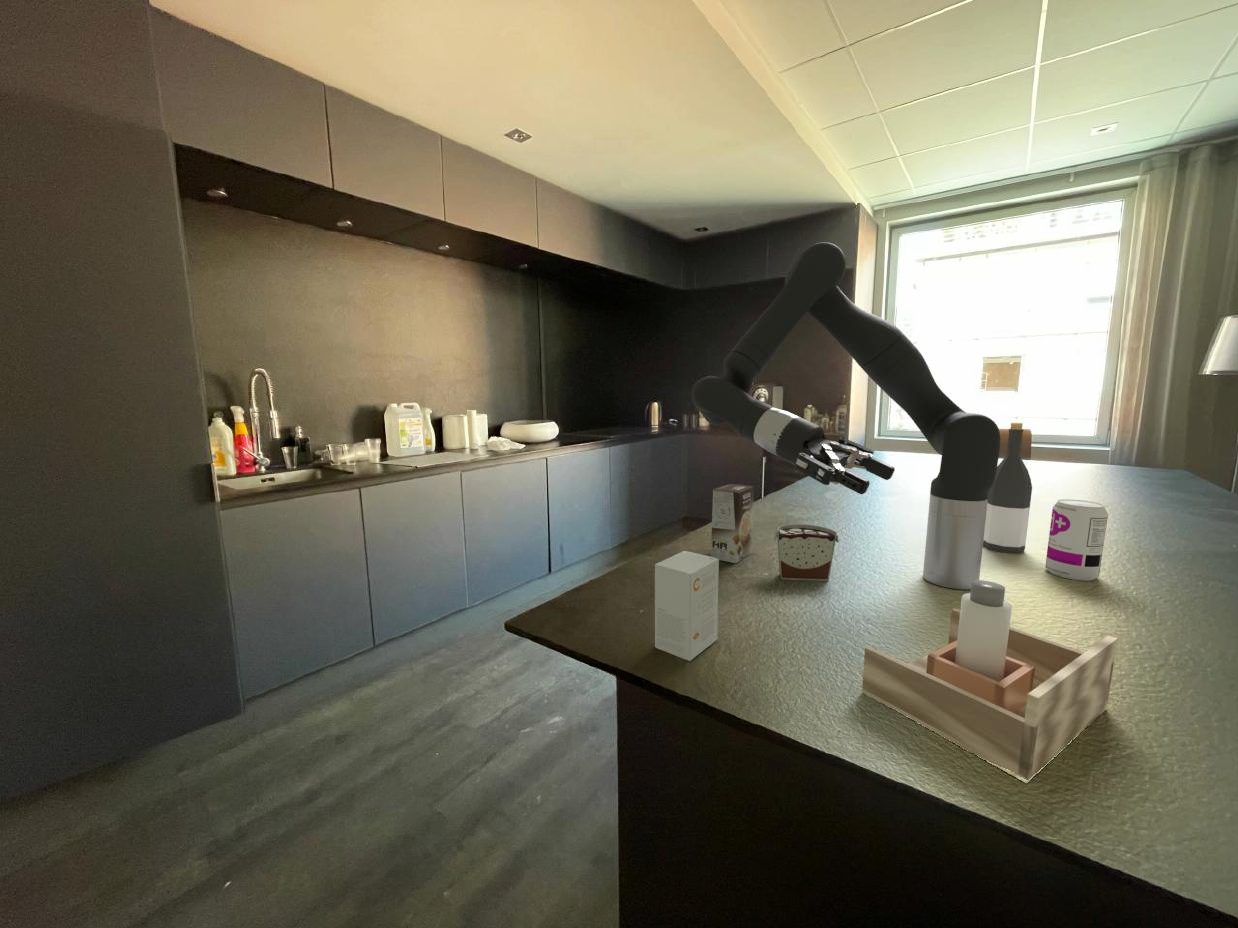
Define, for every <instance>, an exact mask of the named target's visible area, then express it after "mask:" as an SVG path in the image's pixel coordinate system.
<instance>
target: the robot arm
mask: <svg viewBox="0 0 1238 928" xmlns="http://www.w3.org/2000/svg"><path fill="white" fill-rule="evenodd" d="M846 269H847V262H846V256H845V254H844V251H842V249H841V248H840V247H839V246H837V245H836V244H834V243H831V242H826V241H823V242H817V243H814V244H812V245H810V246H808V247H807V248H806V249H804V250H803V251H802V252H801V253H800V254H799V255H798V257H797V258H796V259H795V260H794V261H793V263H792V264H791V265H790V267H789V268H788V270H787V272H786V274H785V278H784V286H783V288H782V289H781V291H780V292H779V293H778V295H777V296H776V297H775V298H774V300H773V301H772V302H771V303H770V304H769V306H768V307H767V308H766V309H765V310H764V312H763V313H762V314H761V315H760V316H759V317H758V318H757V319H756V321H755V322H754V323H753V324H752V325H751V326H750V327H749V329H748V330H747V331H746V332H745V333H744V334H743V336H742V337H741V338H740V340H738V342H737V343H736V344H735V346H734V347H733V348H732V349H731V350H730V352H729V353H728V355H727V356H726V357H725V359H724V361H723V363H722V366H723V377H719V376H717V375H716V376H715V375H708V376H704V377H702V378H700V379H699V380H697V381H696V382H695V383H694V385H693V386H692V389H691V399H692V402H693V404H694V406H695V407H696V409H697V410H698V411H699V412H700V414H701V415H702V417H703V418H704V419H705V421H706V422H707V423H709V424H710V425H713V426H722V425H725V424H728V425H729V426H730V427H731V428H732V430H733V431H734V432H735V433H737V434H738V435H740V436H742V437H743V438H746V439H747V440H749V441H751V442H752V443H755V444H757V445H758V446H760V447H761V448H763V449H764V450H765V451H767V452H769V453H770V454H773V455H775V456H776V457H778V458H780V459H782V460H784V461H786V462H788V463H790V464H791V465H794V469H796V470H797V471H799V472H800V473H803V474H805V475H806V476H808V477H810V478H811V479H813V480H815V481H816V482H818V483H821V484H822V485H824V486H829V485H830V483H832V484H835V485H839V484H840V485H841V486H843V487H845V488H848V489H849V490H851V491H853V492H856V493H857V494H859V495H864V494H865V493H867V491H868V488H869V487H870V485H871V483H870V481H869V480H868V479H866V478H864V477H862V476H860V475H859V474H856V473H854V472H852V471H851V469H853V468H858V469H861V470H865V471H866V472H869V473H871V474H873V475H875V476H877V477H878V478H881V479H883V480H885V481H888V480H890V479H892V477H893V475H894V474H895V470H896V469H895V467H894V466H892V465H890V464H887V463H886V462H883V461H881V460H880V459H878V458H875V457H874V454H875V450H873V449H872V448H869V447H867V446H864V445H862V444H860V443H857V442H855V441H852V440H849V439H847V438H845V437H843V436H840V437H839V438H838V440H837V441H835V440H834V441H833V440H828V439H826V434H825V429H824V428H823V427H822V426H820V425H818V424H816V423H815V422H812V421H809V420H807V419H805V418H803V417H801V416H798V415H796V414H794V413H791V412H790V411H787V410H784V409H781V408H777V407H775V406H772V405H770V404H768V403H765V402H764V401H762V400H758V399H757V398H754V397H753V396H751V395H750V394H749V393H750V392H751V389H752V387H753V384H754V382H755V380H756V379H757V378H758V377H759V375H761V373H762V371H764V369H765V368H766V367H767V365H769V362H770V361H771V360H772V359H773V357H774V356H775V354H777V352H778V351H779V349H780V348H781V346H782V345H783V344H784V343H785V341H786V339H788V337H789V336H790V334H791V333H792V331H793V330H794V329H795V327H796V326H797V325H798V324H799V323H800V321H801V320H802V319H803V318H804V317H805V315H806V314H807V313H808V315H809V316H811V317H812V318H813V319H814V320H815V321H816V322H818V323H819V324H820V325H821V326H822V327H823V328H825V329H826V331H827V332H829V334H830V335H831V336H832V337H833V338H834V339H835V341H836V342H837V343H839V345H840V346H841V347H842V349H844V350H845V351H846V352H847V354H849V355H850V356H851V358H852V359H853V360H854V361H855V363H856V364H858V366H859V367H860V368H861V369H862V370H863V371H864V373H866V375H867V376H868V377H869V378H870V379H871V380H872V381H873V382H874V383H875V384H876V385H877V386H878V387H879V388H880V389H881V390H882V391H883V392H884V393H886V394H885V395H887V396H888V397H889V398H890V399H891V400H892V401H894V402H895V403H896V404H897V405H898V406H899V407H900V408H901V409H903V411H904V412H905V413H906V414H907V415H908V416H909V418H910V419H911V420H912V421H913V423H914V424H915V425H916V427H917V429H919V431H920V432H921V433H922V435H923V436H924V438H925V439H926V440H927V442H928V443H929V446H931V447H932V449H933V450H934V451H935V452H936V453H937V454H939V455H941V459H940V460H941V461H940V466H939V467H940V468H939V472H938V475H937V476H936V477H935V478H933V479H932V480H931V481H930V482H931V483H930V492H929V494H930V495H929V502H928V513H927V514H928V516H927V525H926V526H927V528H926V536H925V537H926V538H925V547H924V548H925V549H924V558H923V559H924V560H923V568H922V569H923V570H922V577H923V579H924V580H926V581H927V582H929V583H932V584H934V585H937V586H939V587H944V588H949V589H954V590H963V591H964V590H965V591H966V590H967V591H968V590H971V583H972V581H974V580H980V577H981V576H980V575H981V569H982V568H981V567H982V559H983V549H984V546H983V541H984V531H985V522H986V512H987V502H988V494H989V490H990V489H991V487H992V485H993V484H994V481H995V477H996V471H997V466H998V465H999V457H1000V452H1001V451H1000V450H1001V433H1000V428H999V427H998V425H997V424H996V422H995V421H994V420H993V419H992V418H990V417H989V416H986V415H984V414H980V413H972V412H966V411H965V410H963V409H962V408H960V407H959V406H958V405H957V404H956V403H955V402H954V401H952V399H951V398H949V396H947V395H946V393H945V392H944V391H943V390H942V389H941V388H940V387H939V386H938V384H937V382H936V381H935V378H934V376H933V374H932V372H931V370H930V368H929V366H928V364H927V362H926V359H925V358H924V357H923V355H922V354H921V353H922V352H920V350H919V349H918V348H917V347H916V345H914V343H913V342H912V341H911V340H910V339H909V337H907V336H906V335H905V333H903V332H902V331H901V330H900V329H899V328H898V327H897V326H896V325H894V324H893V323H891V322H890V321H888V320H886V319H884V318H882V317H880V316H877V315H876V314H873V313H871V312H869V311H867V310H865V309H863V308H861V307H859V306H858V305H856V304H855V303H853V301H852V300H850V298H848V297H847V295H845V293H843V291H842V290H841V288H840V287H839V286H838V285H839V284H840V283H841V281H842V279H843V278H844V275H845V272H846ZM845 469H846V470H845ZM848 469H849V470H848ZM819 473H820V474H819Z"/></svg>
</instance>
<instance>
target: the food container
mask: <svg viewBox="0 0 1238 928" xmlns="http://www.w3.org/2000/svg"><path fill="white" fill-rule="evenodd" d="M837 533H838V531H835V530H833V529H831V528H828V527H826V526H825V527H824V526H821V525H820V526H819V525H814V524H805V523H804V524H801V523H800V524H798V523H791V524H784V525H781V526H779V527H777V530H776V531H775V534H774V538H773V540H774V542H776V541H777V549H778V550H777V552H778V566H779V579H780V580H792V581H793V580H794V581H795V580H796V581H823V582H824V581H827V582H828V581H830V576H831V575H830V574H831V569H832V563H833V557H834V553H835V546H836V542H837V543H838V544H839V542H840V541H839V540H840V539H839V536H838V534H837Z"/></svg>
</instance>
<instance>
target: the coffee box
mask: <svg viewBox="0 0 1238 928" xmlns="http://www.w3.org/2000/svg"><path fill="white" fill-rule="evenodd" d="M754 491H755V486H752V485H744V484H734V483H728V484H726V485H725V484H724V485H722V486H719V487H716V488H713V489H712V506H711V507H712V508H711V510H712V511H711V514H712V515H711V538H710V539H711V542H710V557H714V558H717V559H719V561H722V562H723V561H724V562H728V563H731V564H737V563H739V562H740V561H742V560H743V559H745V558H746V557H748V556H750V555H751V554H752V547H753V546H752V542H753V520H754V498H755V497H754V495H755V493H754Z"/></svg>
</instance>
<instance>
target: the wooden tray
mask: <svg viewBox="0 0 1238 928" xmlns="http://www.w3.org/2000/svg"><path fill="white" fill-rule="evenodd" d="M959 619H960V609H958V608H955V607H954V608H952V609H951V611H950V620H949V621H950V623H949V631H948V641H947V644H946V645H944V646H942V647H940V648H938V649H936V650H933V651H932V652H930V653H928V654H927V655H924V656H923V657H920V658H919V659H917V660H915V661H912V662H911V663H906V662H904V661H902V660H899V659H897V658H895V657H893V656H891V655H889V654H887V653H885V652H883V651H881V650H878V649H876V648H873V647H872V646H870V645H869V646H867V647H865V648H864V658H863V673H862V683H861V684H862V687H861V693H862V694H863V693H864V694H863V695H865V694H866V696H867V697H869V698H871V699H872V698H873V699H872V700H874V699H875V700H874V701H876V700H877V701H876V702H878V701H879V702H878V703H880V702H881V703H883V704H885V705H887V706H888V707H887V706H886V707H887V708H889V707H890V708H893V709H895V710H897V711H899V712H900V713H902V714H903V715H905V716H908V717H909V718H911V719H913V720H914V721H916V722H918V723H920V724H921V725H923V726H925V727H926V728H928V729H929V730H928V729H927V730H928V731H930V730H931V731H930V732H932V731H934V732H935V733H937V734H939V735H940V736H939V735H938V736H939V737H941V736H942V737H941V738H943V737H945V738H946V739H948V740H950V741H951V742H950V741H949V742H950V743H952V742H954V743H955V744H956V745H955V744H954V745H955V746H957V745H958V746H957V747H959V746H960V747H959V748H961V747H962V748H964V749H965V751H966V750H968V751H969V752H968V751H967V752H968V753H970V752H971V753H974V754H975V755H978V756H979V757H981V758H983V759H985V760H988V761H989V762H991V763H993V764H996V765H998V766H1000V767H1003V768H1005V769H1008V770H1010V771H1011V772H1014V773H1015V774H1017V775H1019V776H1020V777H1023V778H1024V779H1026V780H1029V779H1030V778H1031V777H1032V776H1033V775H1034V774H1035V773H1037V772H1038V771H1039V770H1040V769H1041V768H1042V767H1044V766H1045V765H1046V764H1047V763H1048V762H1049V761H1050V760H1051V759H1052V758H1053V757H1054V756H1056V755H1057V754H1058V753H1059V752H1060V751H1061V750H1062V749H1063V748H1064V747H1066V746H1067V744H1068V743H1070V741H1071V740H1073V739H1074V738H1075V737H1076V736H1077V735H1078V734H1080V733H1081V732H1082V731H1083V730H1084V729H1085V728H1086V727H1087V726H1088V725H1089V724H1091V723H1092V722H1093V721H1094V720H1095V719H1096V718H1097V717H1098V716H1099V715H1100V714H1102V713H1103V712H1104V711H1105V710H1106V709H1108V704H1109V695H1110V691H1111V685H1112V684H1111V683H1112V679H1113V678H1112V677H1113V670H1114V665H1115V658H1116V651H1117V646H1118V645H1117V643H1118V638H1117V637H1114V636H1110V635H1107V636H1105V637H1104V638H1103V639H1101V640H1100V641H1098V642H1097V643H1096V644H1094V645H1093V646H1092V647H1090V648H1089V649H1087V650H1086V651H1085V652H1084V651H1081V650H1078V649H1075V648H1072V647H1069V646H1067V645H1063V644H1060V643H1058V642H1055V641H1052V640H1049V639H1046V638H1043V637H1040V636H1037V635H1035V634H1031V633H1029V632H1025V631H1022V630H1020V629H1016V628H1013V627H1011V626H1010V627H1009V635H1008V644H1007V652H1006V660H1005V668H1004V677H1003V680H1001V681H1000V682H997V681H995V680H993V679H990V678H988V677H986V676H983V675H981V674H979V673H976V672H974V671H972V670H969V669H967V668H965V667H962V666H960V665H958V664H955V657H956V647H957V638H958V628H959ZM881 703H880V704H881ZM883 704H882V705H883ZM885 705H884V706H885ZM890 708H889V709H890ZM1106 711H1107V710H1106ZM1106 711H1105V712H1106ZM1105 712H1104V713H1105ZM1104 713H1103V714H1104ZM1103 714H1102V715H1103ZM903 715H902V716H903ZM905 716H904V717H905ZM1100 716H1101V715H1100ZM1100 716H1099V717H1100ZM1099 717H1098V718H1099ZM1098 718H1097V719H1098ZM1097 719H1096V720H1097ZM1096 720H1095V721H1096ZM914 721H913V722H914ZM1095 721H1094V722H1095ZM916 722H915V723H916ZM1094 722H1093V723H1094ZM1093 723H1092V724H1093ZM1092 724H1091V725H1092ZM921 725H920V726H921ZM923 726H922V727H923ZM925 727H924V728H925ZM926 728H925V729H926ZM1084 731H1085V730H1084ZM1084 731H1083V732H1084ZM934 732H933V733H934ZM1083 732H1082V733H1083ZM935 733H934V734H935ZM1082 733H1081V734H1082ZM937 734H936V735H937ZM1081 734H1080V735H1081ZM946 739H945V740H946ZM948 740H947V741H948ZM1067 747H1068V746H1067ZM1067 747H1066V748H1067ZM962 748H961V749H962ZM964 749H963V750H964ZM971 753H970V754H971ZM975 755H974V756H975ZM979 757H978V758H979Z"/></svg>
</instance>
